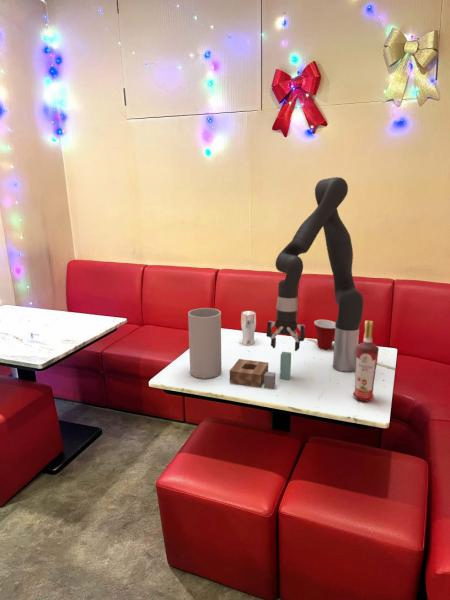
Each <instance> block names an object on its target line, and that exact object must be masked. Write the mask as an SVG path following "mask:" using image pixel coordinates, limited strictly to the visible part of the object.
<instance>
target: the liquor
mask: <svg viewBox="0 0 450 600" xmlns="http://www.w3.org/2000/svg"><path fill="white" fill-rule="evenodd" d="M374 323H375V322H374V321H372V320H364V333H363V339H362V340H363V341H362V342H360V343H359V342H358V345H356V371H354V372H355V375H354V377H355V378H354V380H355V381H354V391H353V393H352V394H353V397H355V398H356V399H357V400H358V401H361V402H368V401H371V400H372V399H374V397H375V395H374V393H373V392H374V385H375V378H376V377H375V376H376V370H377V365H378V357H379V351H380V349H379V346H378V345H376V344H375V343H374V342H373V329H374Z"/></svg>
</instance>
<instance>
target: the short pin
mask: <svg viewBox="0 0 450 600" xmlns="http://www.w3.org/2000/svg"><path fill="white" fill-rule="evenodd" d="M263 385H264V387H263V388H264V389H270V390H274V388H275V387H276V372H271V371H268V372H266V373H265V375H264V382H263Z"/></svg>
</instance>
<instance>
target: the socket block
mask: <svg viewBox="0 0 450 600" xmlns="http://www.w3.org/2000/svg"><path fill="white" fill-rule="evenodd" d="M266 372H269V362H266V361H259V360H252V359H251V360H250V359H244V358H239V359H237V361H236V362H235V364H234V365H233V366H232V367H231V369H230V370H229V384H234V385H240V386H249V387H255V388H262V386H263V385H264V375H265V373H266Z"/></svg>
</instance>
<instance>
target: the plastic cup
mask: <svg viewBox="0 0 450 600" xmlns="http://www.w3.org/2000/svg"><path fill="white" fill-rule="evenodd" d="M313 322H314V325H315V327H314V328H315V334H316V341H317V348H318V349H319V348H320V350H323V349H324V350H325V351H327V350H328V349H329V350H331V349H332V346H333V343H334V339H335V323H336V321H333V320H328V319H317V320H314V321H313ZM329 350H328V351H329Z"/></svg>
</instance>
